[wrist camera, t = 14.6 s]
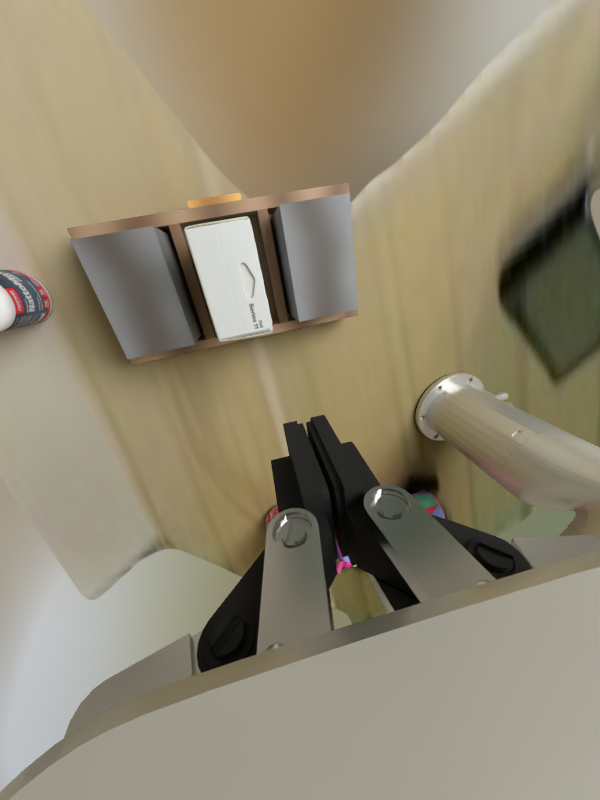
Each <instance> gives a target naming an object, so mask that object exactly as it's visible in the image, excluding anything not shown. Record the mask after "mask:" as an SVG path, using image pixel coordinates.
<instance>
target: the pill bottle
mask: <svg viewBox="0 0 600 800" xmlns="http://www.w3.org/2000/svg"><path fill="white" fill-rule="evenodd" d="M51 311H52V300H51V297H50V294H49V293H48V291H47V289H46V288H45V287H44V286H43V285H42V284H41V283H40V282H39V281H38V280H37V279H35V278H34V277H32V276H30V275H28V274H26V273H23V272H19V271H14V270H0V332H2V331H6V330H10V329H14V328H19V327H23V326H27V325H31V324H36V323H39V322H42V321H44V320H45V319H47V318H48V317H49V315H50V313H51Z"/></svg>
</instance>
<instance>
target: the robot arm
mask: <svg viewBox="0 0 600 800" xmlns="http://www.w3.org/2000/svg"><path fill="white" fill-rule="evenodd" d="M507 398H508V394H507V393H506V392H500V393H496V394H492V393H490V392H488V391H486V390H485V388H484V386H483V384H482V382H481V381H480V380H479V379H478V378H477V377H475V376H473V375H470V374H468V373H462V372H460V373H452V374H449V375H446V376H444V377H442V378H440V379H439V380H437V381H436V382H434V383H433V384H432V385H431V386H430V387H429V388H428V389H427V390H426V391H425V393H424V394H423V396H422V397H421V399H420V401H419V403H418V406H417V409H416V416H415V418H416V424H417V427H418V429H419V430H420V431H421V433H423V434H424V435H425V436H426V437H428V438H430V439H432V440H439V441H441V440H445V441H447V442H448V443H449V444H450V445H452V446H453V447H454V448H455V449H457V450H458V451H459V452H460V453H462V454H463V455H464V456H465V457H467V458H468V459H469V460H470V461H471V462H473V463H474V464H475V465H476V466H478V467H479V468H480V469H481V470H483V471H484V472H485V473H486V474H488V475H489V476H490V477H491V478H493V479H494V480H495V481H496V482H497V483H499V484H500V485H501V486H502V487H504V488H505V489H506V490H507V491H509V492H510V493H511V494H513V495H514V496H515V497H517V498H518V499H520V500H521V501H523V502H525V503H528V504H530V505H533V506H536V507H540V508H545V509H552V510H562V511H574V512H576V516H575V518H574V519H573V521H572V522H571V523H570V524H569V525H568V527H567V528H566V529H565V530H564V531H563V532H562V533H561V535H559V536H550V537H527V538H512V541H511V542H506V541H505V540H502V539H500V538H498V537H496V536H493V535H490V534H487V533H484V532H482V531H479V530H476V529H473V528H470V527H467V526H464V525H461V524H458V523H456V522H453V521H450V520H447V519H444V518H441V517H438V516H435V515H432V514H430V513H429V512H428V511H427V510H426V509H425V508H424V507H423V506H422V505H421V504H420V503H419V502H418V501H417V500H416V499H415V498H414V497H413V496H412V495H411V494H409V493H408V492H407V491H405V490H404V489H402V488H399V487H397V486H392V485H380V484H379V482H378V481H377V479H376V478H375V476H374V474H373V473H372V471H371V470H370V468H369V467H368V465H367V464H366V462H365V461H364V459H363V458H362V456H361V455H360V453H359V451H358V450H357V448H356V447H355V445H354V444H353V443H352V442H347V443H342V444H341V443H340V441H339V440H338V438H337V436H336V434H335V433H334V431H333V429H332V427H331V426H330V424H329V422H328V420H327V419H326V417H325V415H321V416H316V417H312V418H311V421H310V422H306V425H307V432H308V436H307V433H306V431H305V428H304V426H303V423H301V424H297V421H294V422H289V423H285V424H283V426H284V431H285V436H286V441H287V446H288V451H289V456H287V457H283V458H279V459H275V460H271V464H272V471H273V478H274V485H275V492H276V499H277V505H278V512H279V513H278V514H277V515H276V516H275V517H274V518H273V519H272V520H271V522H270V524H269V525H268V529H267V534H266V546H265V549H264V551H263V552H262V553H261V555H260V556H259V557H258V558H257V560H256V561H255V562H254V563H253V565H252V566H251V567H250V569H249V570H248V571H247V572H246V574H245V575H244V576H243V578H242V579H241V580H240V582H239V583H238V584H237V585H236V586H235V588H234V589H233V590H232V592H231V593H230V594H229V595H228V597H227V598H226V599H225V601H224V602H223V603H222V604H221V606H220V607H219V608H218V609H217V611H216V612H215V613H214V615H213V616H212V617H211V618H210V620H209V621H208V623H207V624H206V626H205V628H204V629H203V631H201V632H200V633H198V634H196V635H194V636H193V637H191V635H190V634H187V635H186V636H184V637H182V638H180V639H178V640H177V641H175V642H173V643H172V644H170V645H168V646H166V647H165V648H162V649H161V650H159V651H157V652H155V653H153V654H152V655H150V656H148V657H146V658H145V659H143V660H141V661H139V662H137V663H136V664H134V665H132V666H131V667H129V668H127V669H125V670H123V671H121V672H120V673H118V674H116V675H114V676H112V677H110V678H109V679H107V680H105V681H104V682H103V683H101V684H100V685H99V686H97V687H96V688H95V689H93V690H92V692H90V694H89V695H88V696H87V697H86V698H85V699H84V700H83V702H82V703H81V704H80V706H79V707H78V709H77V711H76V712H75V714H74V716H73V717H72V719H71V721H70V723H69V726H68V729H67V732H66V734H65V737H64V739H62V740H61V741H59V742H58V743H57V744H55V745H54V746H53V747H52V748H50V749H49V750H48V751H46V752H45V753H44V754H43V755H42V756H40V757H39V758H38V759H37V760H35V761H34V762H33V763H32V764H31V765H29V766H28V767H27V768H26V769H24V771H22V772H21V773H20V774H19V775H18V776H17V777H16V778H15V779H13V781H11V782H10V783H9V784H8V785H7V786H6V787H5V788H4V789H3V790H2V791H1V792H0V800H600V447H598V446H595V445H593V444H591V443H589V442H587V441H584V440H582V439H580V438H578V437H576V436H574V435H572V434H570V433H568V432H566V431H564V430H561V429H559V428H557V427H555V426H553V425H551V424H549V423H547V422H545V421H543V420H541V419H539V418H537V417H535V416H532V415H530V414H528V413H526V412H524V411H522V410H520V409H518V408H516V407H514V406H513V405H512V404H511V403H510V402H507V401H506V402H504V401H502V400H506V399H507ZM335 538H336V539H335ZM336 541H337V543H338V546H339V549H340V552H341V555H342V557H345V556H348V557H349V560H350V563H351V565H352V566H354V565H357V567H358V568H360V569H362V570H363V571H365V572H367V573H368V576H369V578H370V581H371V583H372V585H373V586H374V588H375V590H376V591H377V593H378V595H379V597H380V598H381V600H382V602H383V604H384V605H385V607H386V609H387V610H388V612H389V613H387V614H384V615H381V616H378V617H374V618H371V619H368V620H365V621H362V622H358V623H355V624H352V625H349V626H346V627H342V628H339V629H336V630H334V625H333V624H334V623H333V615H332V607H331V600H330V592H329V588H330V586H331V584H332V582H333V580H334V578H335V576H336V574H337V567H336V560H335V559H338V554H337V547H336Z"/></svg>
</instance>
